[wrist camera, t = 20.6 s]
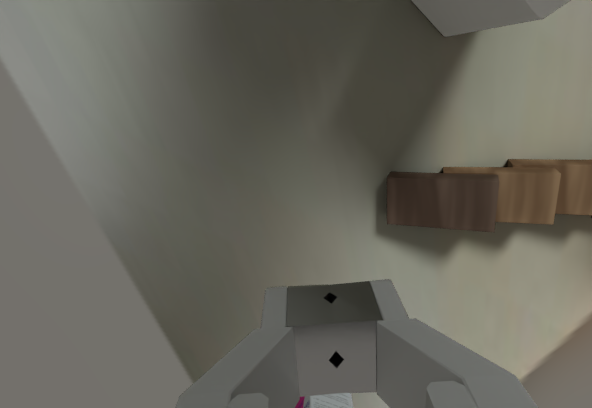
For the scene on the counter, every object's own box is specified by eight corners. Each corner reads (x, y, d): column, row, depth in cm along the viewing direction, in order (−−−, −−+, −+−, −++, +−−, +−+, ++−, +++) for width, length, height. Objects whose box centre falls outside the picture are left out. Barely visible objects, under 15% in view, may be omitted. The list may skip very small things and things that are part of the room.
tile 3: (506, 211, 40) (622, 216, 37) (512, 164, 38) (634, 165, 35) (502, 204, 42) (612, 208, 39) (508, 159, 40) (623, 160, 37)
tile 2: (441, 219, 40) (553, 224, 37) (443, 172, 38) (561, 173, 35) (441, 211, 42) (547, 215, 39) (443, 167, 40) (554, 167, 37)
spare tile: (387, 223, 40) (494, 232, 36) (387, 177, 39) (499, 181, 35) (390, 215, 42) (493, 223, 38) (390, 171, 40) (497, 174, 37)
